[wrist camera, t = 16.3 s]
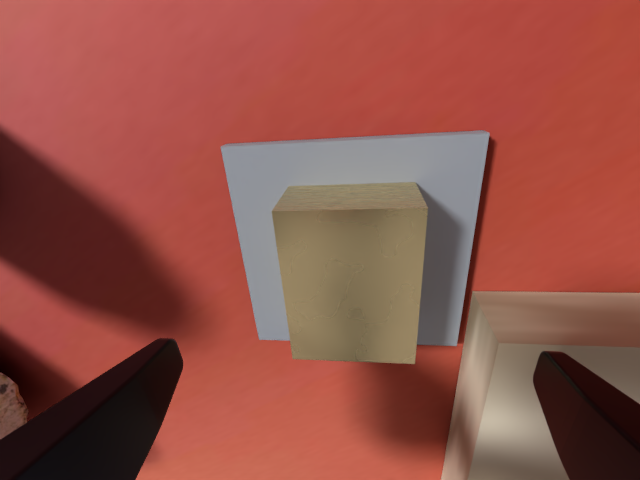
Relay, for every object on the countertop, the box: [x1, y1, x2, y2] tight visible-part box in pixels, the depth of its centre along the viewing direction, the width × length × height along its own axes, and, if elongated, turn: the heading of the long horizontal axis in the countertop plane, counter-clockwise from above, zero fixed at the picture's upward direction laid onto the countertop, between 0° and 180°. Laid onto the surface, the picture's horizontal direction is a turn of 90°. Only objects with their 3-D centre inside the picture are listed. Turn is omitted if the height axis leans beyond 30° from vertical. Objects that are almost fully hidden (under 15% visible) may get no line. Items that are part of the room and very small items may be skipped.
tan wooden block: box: [272, 182, 428, 364], centre depth 12 cm, size 6×4×2 cm
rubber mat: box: [221, 130, 490, 346], centre depth 13 cm, size 9×9×1 cm
